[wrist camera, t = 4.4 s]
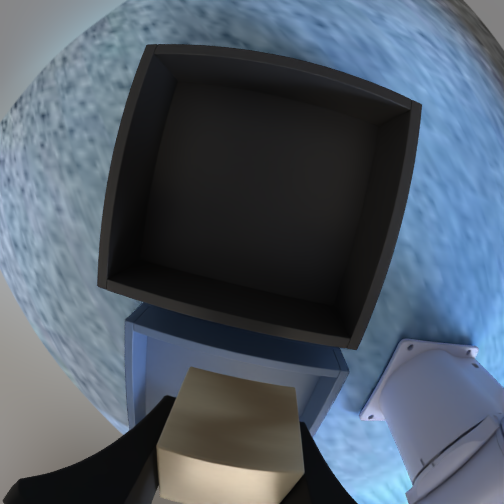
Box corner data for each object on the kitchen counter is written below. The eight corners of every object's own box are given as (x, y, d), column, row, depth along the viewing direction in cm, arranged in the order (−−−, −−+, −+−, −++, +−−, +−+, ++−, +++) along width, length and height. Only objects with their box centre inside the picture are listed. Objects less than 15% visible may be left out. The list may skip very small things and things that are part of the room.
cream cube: (296, 386, 9) (306, 472, 5) (269, 446, 10) (267, 517, 6) (189, 365, 9) (155, 446, 5) (182, 428, 10) (159, 497, 6)
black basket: (386, 123, 14) (422, 104, 9) (337, 312, 16) (357, 350, 12) (174, 75, 14) (146, 44, 9) (134, 264, 17) (96, 286, 12)
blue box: (339, 345, 17) (350, 371, 14) (276, 466, 20) (276, 489, 17) (144, 300, 17) (124, 319, 14) (142, 435, 20) (132, 456, 17)
